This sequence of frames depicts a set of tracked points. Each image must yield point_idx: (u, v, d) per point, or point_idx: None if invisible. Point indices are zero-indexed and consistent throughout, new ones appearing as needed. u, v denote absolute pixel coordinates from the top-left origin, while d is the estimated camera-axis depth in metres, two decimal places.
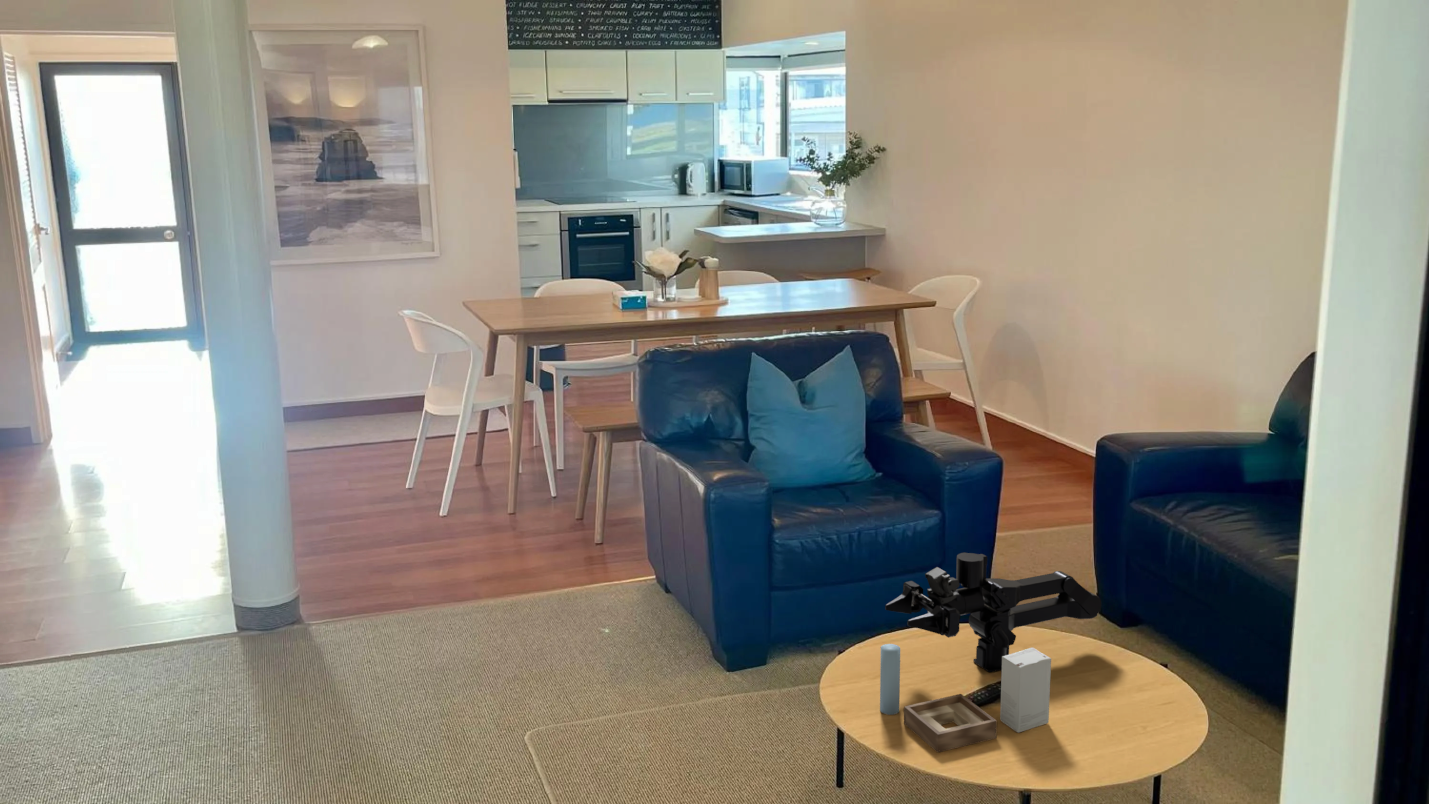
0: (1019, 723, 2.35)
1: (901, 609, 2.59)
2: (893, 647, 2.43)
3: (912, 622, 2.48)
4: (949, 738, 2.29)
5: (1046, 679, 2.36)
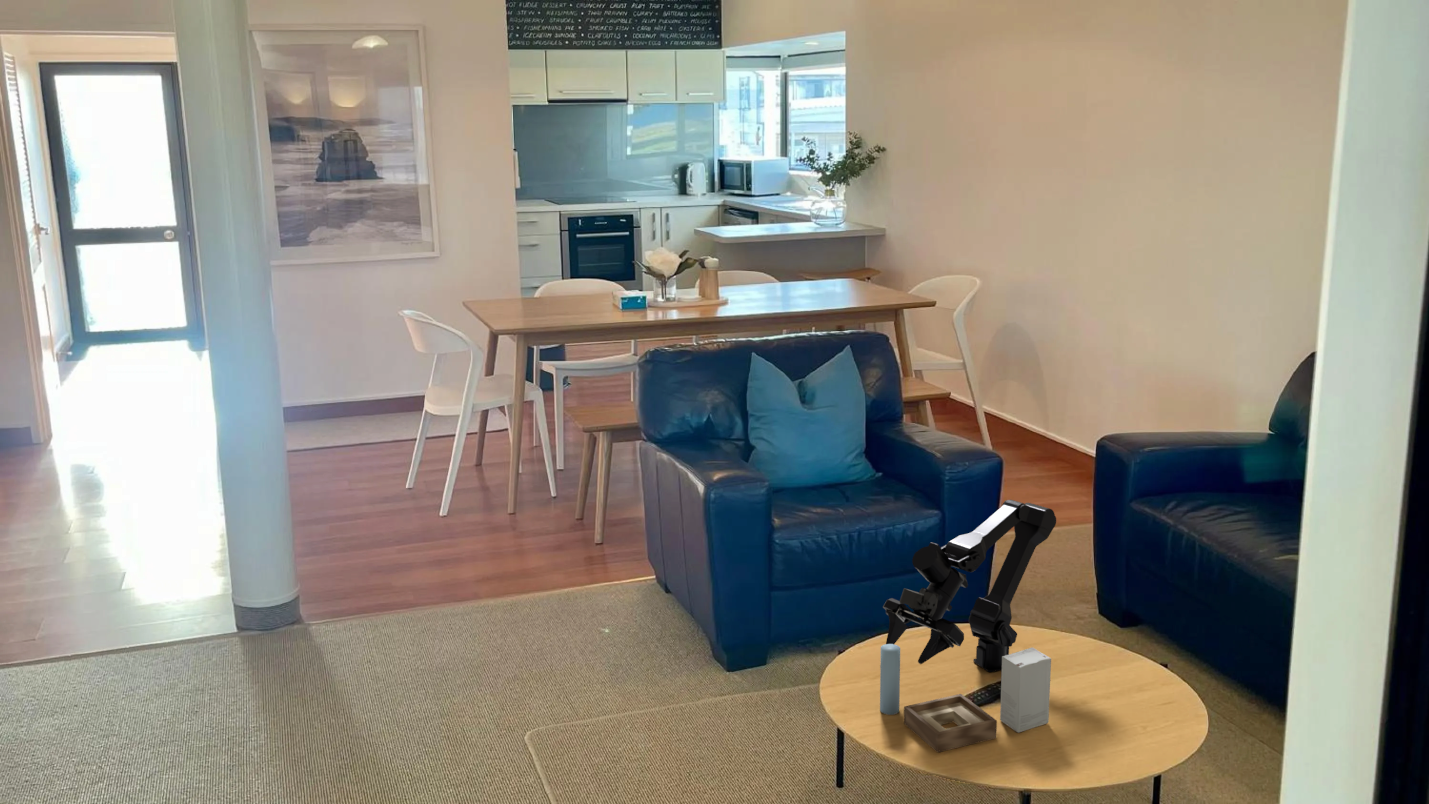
0: (1019, 723, 2.35)
1: (899, 634, 2.51)
2: (893, 647, 2.43)
3: (922, 659, 2.42)
4: (949, 738, 2.29)
5: (1046, 679, 2.36)
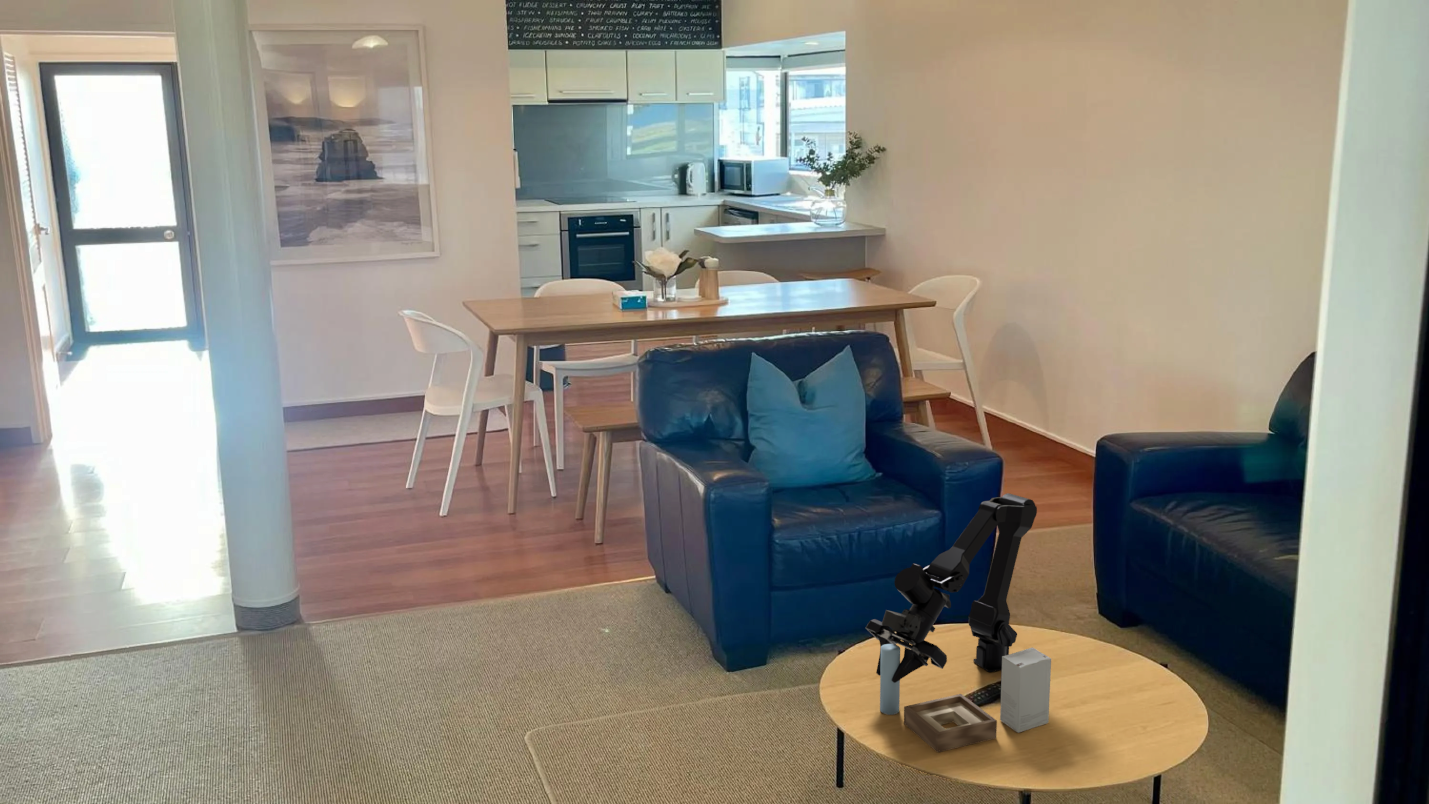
0: (1019, 723, 2.35)
1: None
2: (893, 647, 2.43)
3: (896, 678, 2.42)
4: (949, 738, 2.29)
5: (1046, 679, 2.36)
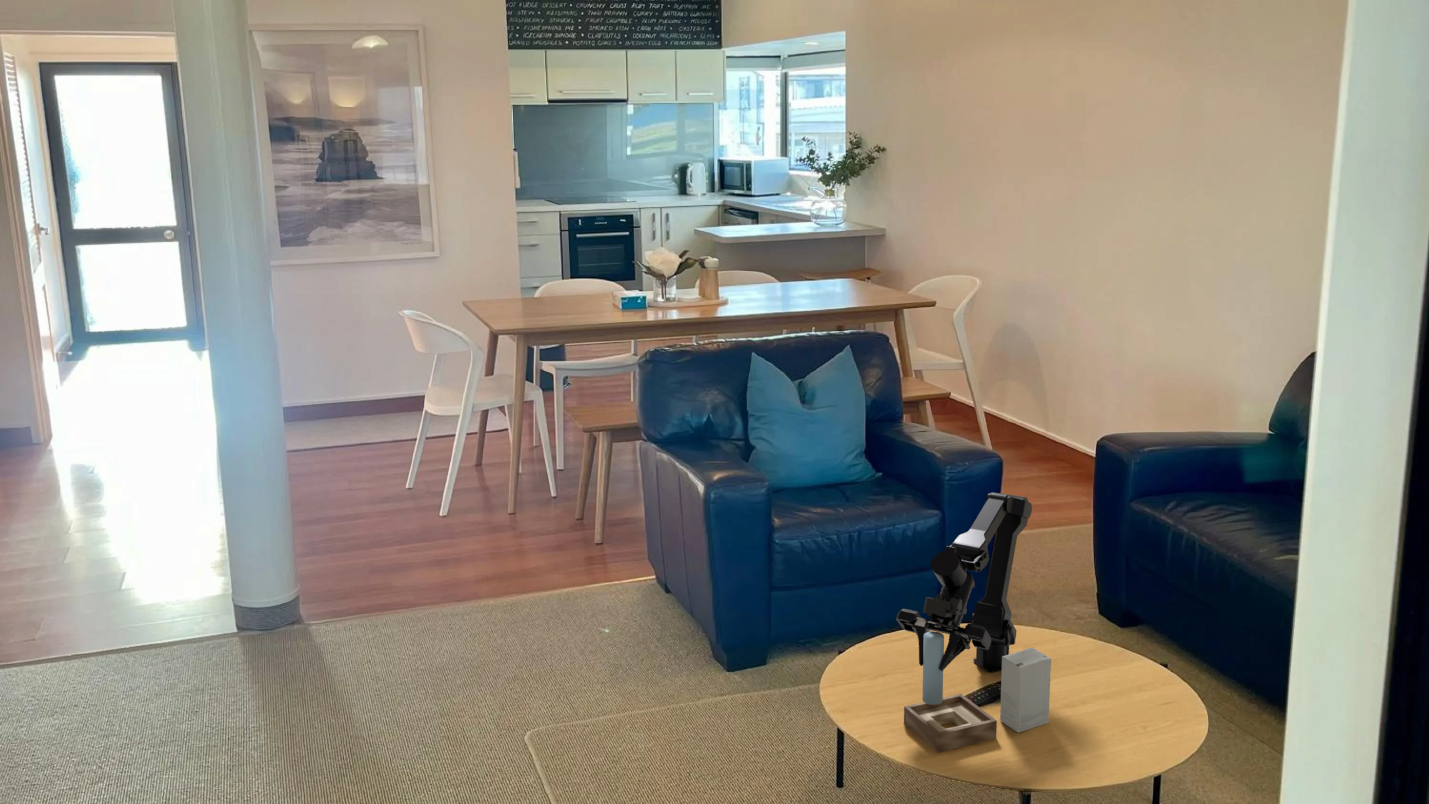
0: (1019, 723, 2.35)
1: None
2: (936, 634, 2.35)
3: (944, 665, 2.34)
4: (949, 738, 2.29)
5: (1046, 679, 2.36)
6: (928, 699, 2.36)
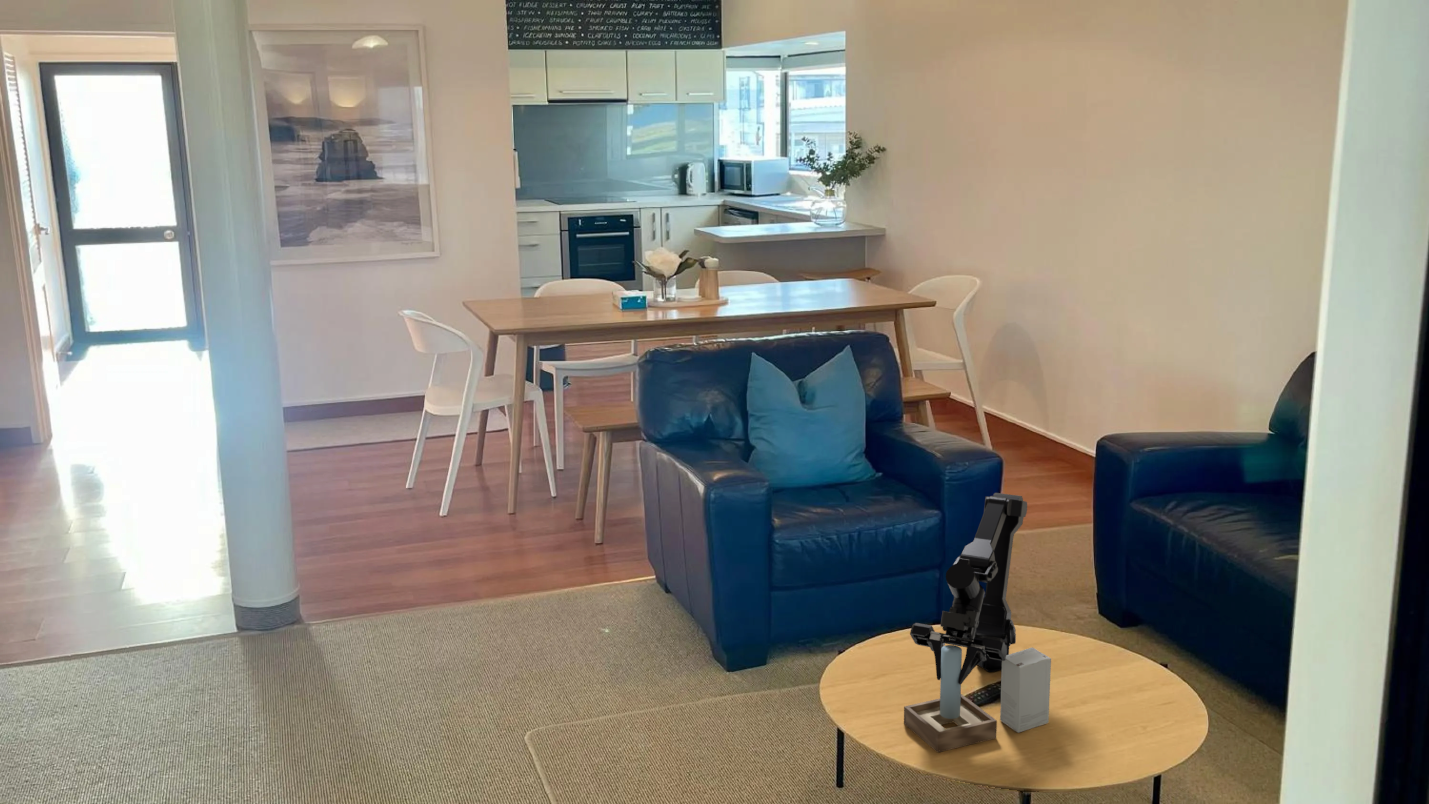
0: (1019, 723, 2.35)
1: None
2: (953, 648, 2.34)
3: (962, 679, 2.32)
4: (949, 738, 2.29)
5: (1046, 679, 2.36)
6: (947, 713, 2.34)
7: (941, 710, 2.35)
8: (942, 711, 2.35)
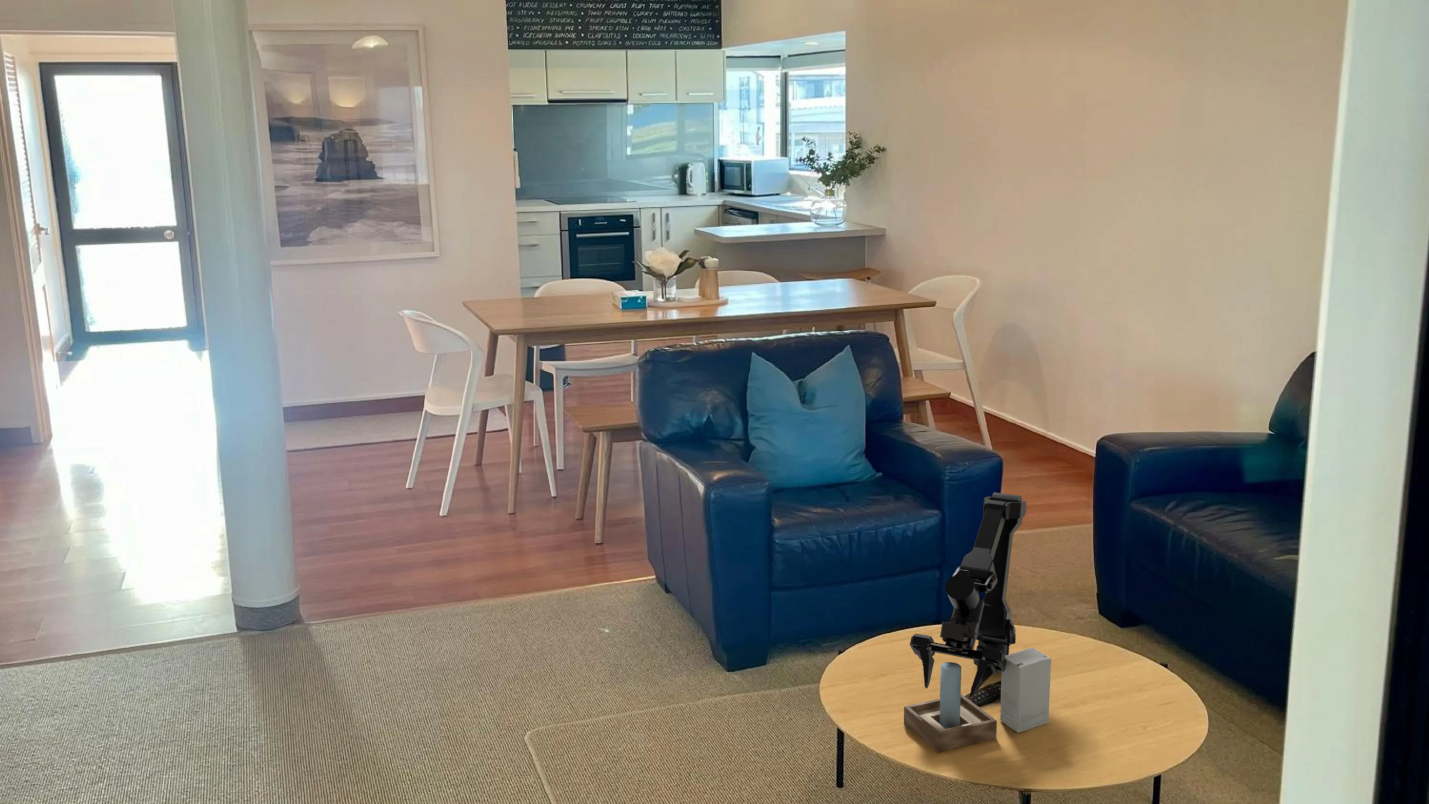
0: (1019, 723, 2.35)
1: (931, 670, 2.39)
2: (952, 665, 2.34)
3: (974, 692, 2.32)
4: (949, 738, 2.29)
5: (1046, 679, 2.36)
6: None
7: None
8: None
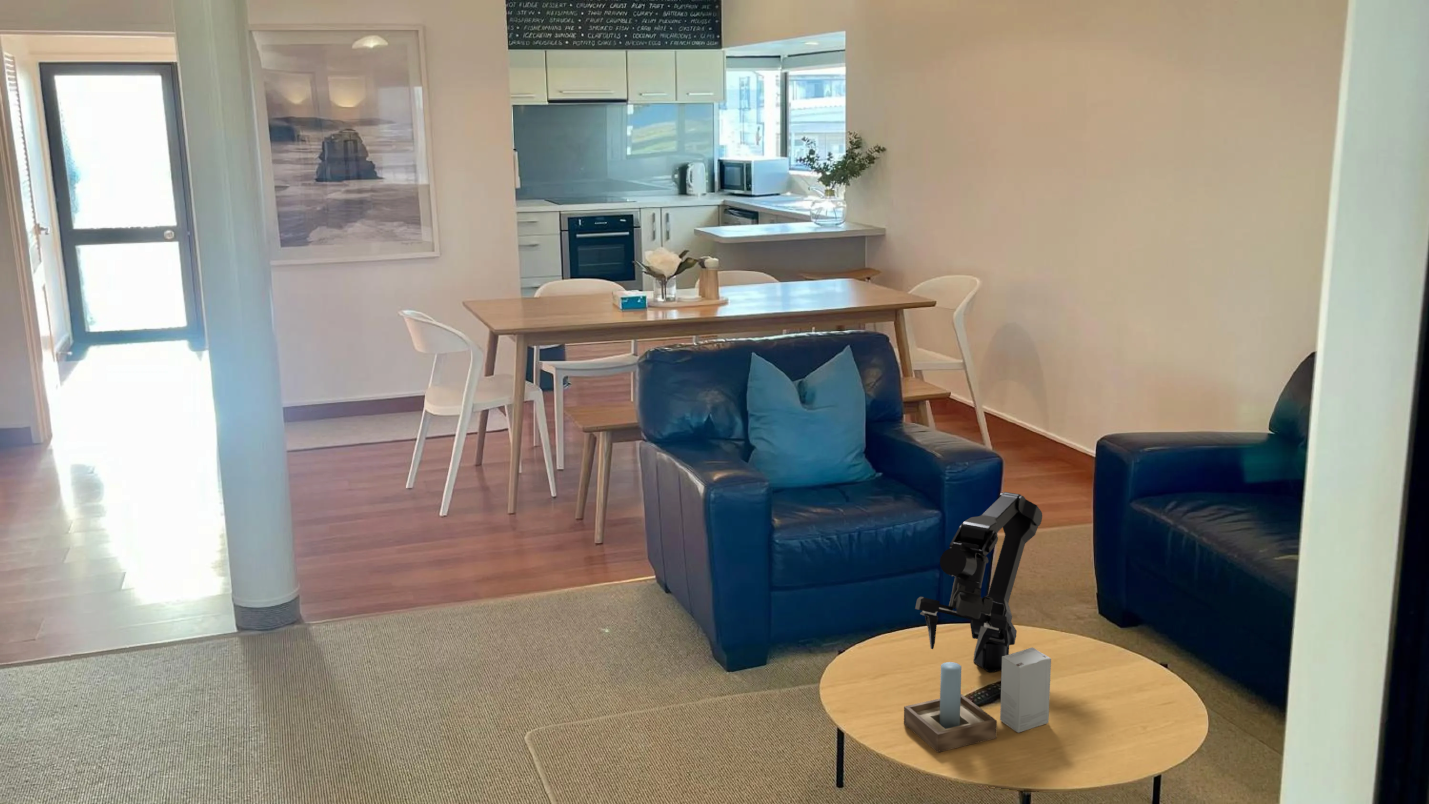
0: (1019, 723, 2.35)
1: None
2: (952, 665, 2.34)
3: None
4: (949, 738, 2.29)
5: (1046, 679, 2.36)
6: None
7: None
8: None
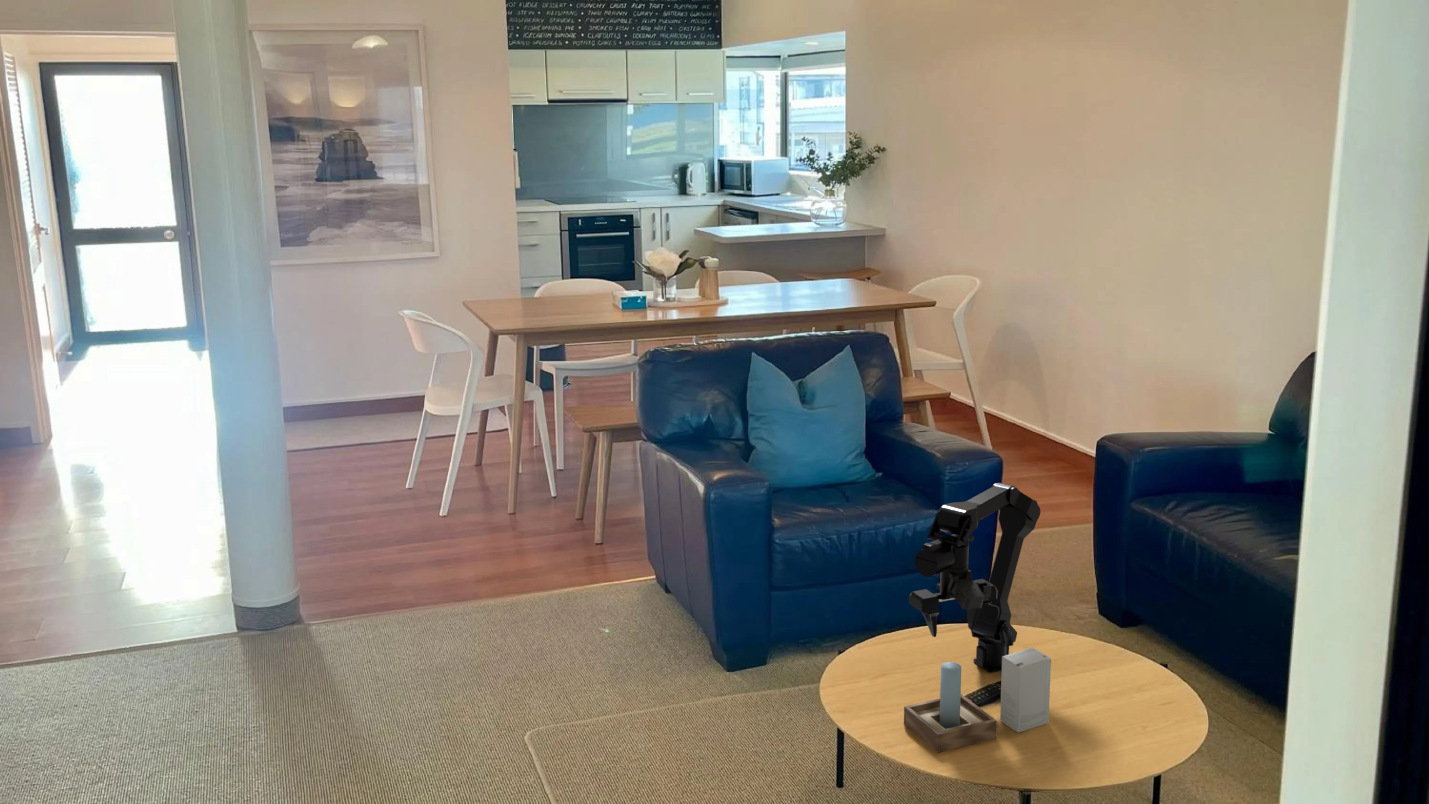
0: (1019, 723, 2.35)
1: None
2: (952, 665, 2.34)
3: None
4: (949, 738, 2.29)
5: (1046, 679, 2.36)
6: None
7: None
8: None
